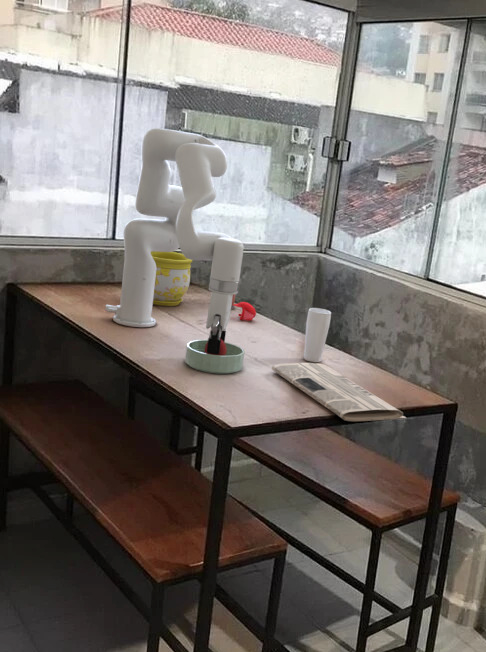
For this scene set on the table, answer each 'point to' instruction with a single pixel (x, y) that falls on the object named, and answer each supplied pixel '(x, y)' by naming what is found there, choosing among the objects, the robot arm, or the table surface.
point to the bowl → (214, 358)
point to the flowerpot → (170, 277)
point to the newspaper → (337, 392)
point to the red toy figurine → (246, 311)
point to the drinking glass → (316, 333)
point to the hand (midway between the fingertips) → (215, 348)
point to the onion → (222, 349)
